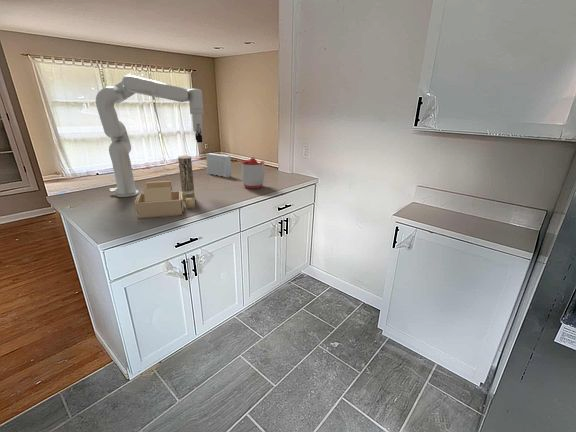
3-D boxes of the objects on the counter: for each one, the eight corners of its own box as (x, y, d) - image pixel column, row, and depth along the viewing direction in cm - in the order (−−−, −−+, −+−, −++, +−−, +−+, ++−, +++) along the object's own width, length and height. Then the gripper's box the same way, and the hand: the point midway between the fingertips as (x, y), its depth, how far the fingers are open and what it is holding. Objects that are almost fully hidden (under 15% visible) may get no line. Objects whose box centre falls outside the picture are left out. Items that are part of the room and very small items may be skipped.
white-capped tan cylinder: (186, 209, 157) (185, 200, 156) (185, 206, 162) (185, 197, 160) (195, 208, 159) (194, 199, 157) (195, 205, 163) (194, 196, 161)
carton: (136, 219, 143) (134, 203, 140) (140, 208, 157) (138, 193, 154) (183, 214, 149) (182, 199, 147) (183, 204, 164) (181, 190, 161)
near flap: (144, 201, 141) (143, 188, 141) (145, 202, 141) (143, 188, 141) (171, 199, 144) (170, 186, 145) (171, 200, 145) (170, 187, 145)
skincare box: (231, 176, 226) (230, 155, 220) (226, 177, 222) (225, 156, 216) (212, 172, 236) (210, 152, 230) (206, 173, 232) (205, 153, 226)
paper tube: (190, 196, 177) (186, 155, 168) (197, 199, 173) (193, 156, 164) (180, 199, 172) (175, 156, 163) (187, 202, 168) (182, 158, 159)
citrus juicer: (269, 185, 206) (270, 156, 199) (257, 191, 191) (257, 160, 184) (250, 182, 212) (250, 154, 205) (237, 187, 197) (236, 158, 190)
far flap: (172, 190, 159) (170, 180, 155) (172, 190, 159) (170, 181, 154) (148, 191, 156) (146, 182, 151) (148, 192, 155) (145, 182, 151)
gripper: (189, 110, 180) (191, 139, 186) (190, 112, 165) (193, 143, 171) (202, 111, 182) (204, 139, 188) (204, 112, 167) (206, 143, 173)
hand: (199, 141), depth 180 cm, fingers open, 9 cm apart
